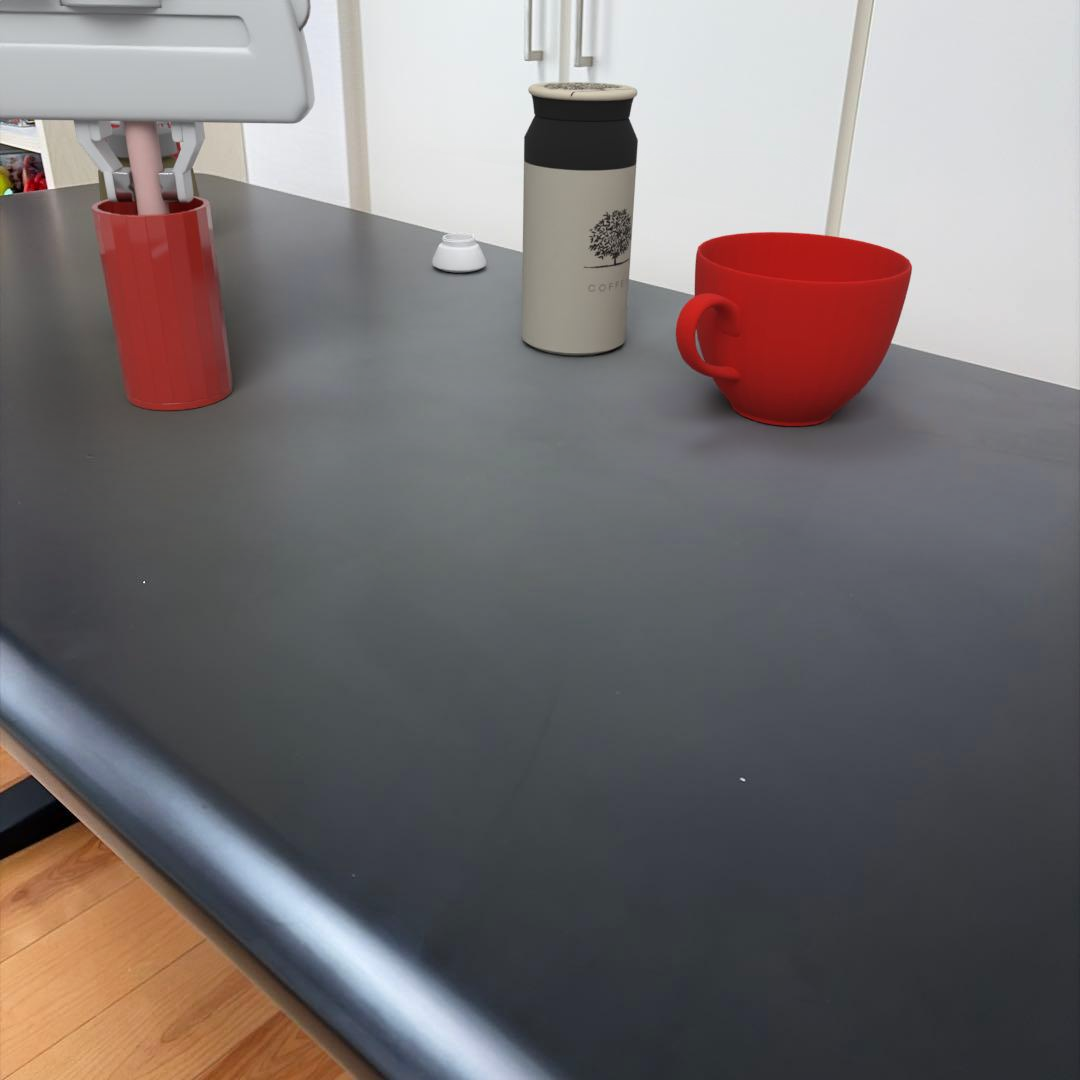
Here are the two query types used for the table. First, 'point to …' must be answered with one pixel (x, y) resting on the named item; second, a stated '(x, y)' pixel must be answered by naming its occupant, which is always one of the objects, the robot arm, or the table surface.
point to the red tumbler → (165, 303)
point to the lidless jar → (459, 254)
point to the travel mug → (578, 217)
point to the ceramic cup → (791, 321)
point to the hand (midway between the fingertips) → (151, 201)
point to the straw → (145, 166)
